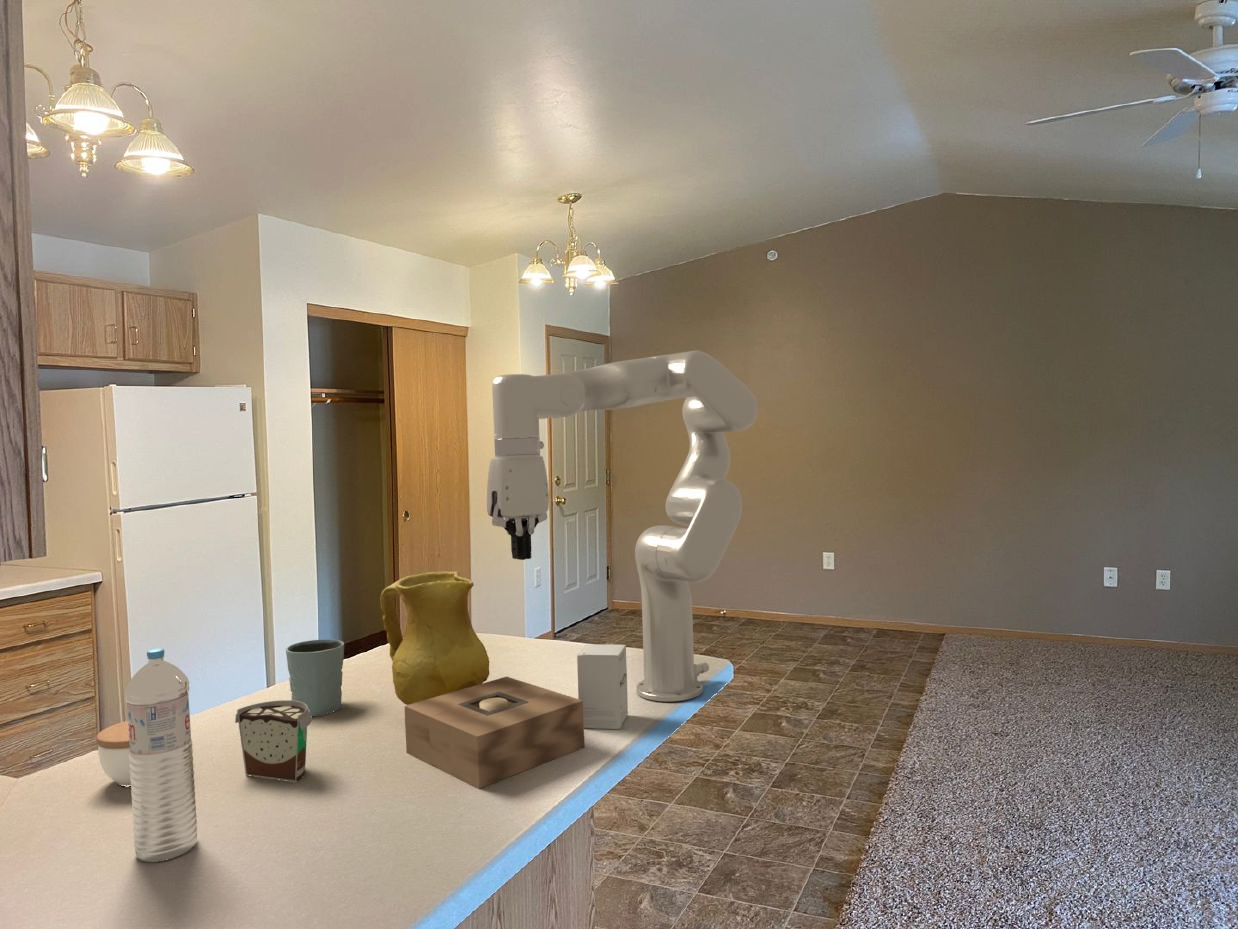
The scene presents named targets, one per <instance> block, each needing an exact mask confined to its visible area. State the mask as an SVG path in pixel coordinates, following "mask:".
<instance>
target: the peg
mask: <svg viewBox="0 0 1238 929" xmlns="http://www.w3.org/2000/svg"><path fill="white" fill-rule="evenodd" d="M479 706H480V708H481V709H484V710H486V711H493V710H496V709H499V708H502V707H505V706H508V702H507V700H506V699H504V698H489V699H485V700H482V701H481V702H480V703H479Z"/></svg>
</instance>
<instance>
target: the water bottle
mask: <svg viewBox="0 0 1238 929" xmlns="http://www.w3.org/2000/svg"><path fill="white" fill-rule="evenodd" d="M146 657H147V658H146V659H147V660H148V663H146V664H144V666H142V667H141V668H139V670H138V671H137V672H136V673H135V674H134V675H133V676H132V678H130V681H129V682H128V684H127V685H126V688H125V690H124V691H125V692H124V694H125V702H126V703H127V704H126V705H127V721H128V725H129V743H130V752H129V759H130V762H129V763H130V774H131V776H130V780H131V787H130V789H131V790H130V791H131V792H130V793H131V794H130V795H131V809H132V825H133V826H132V828H133V830H132V831H133V840H134V841H133V843H134V846H133V847H134V852H135V855H136V857H137V859H139V860H140V861H142V862H145V861H146V862H145V863H157V862H156V861H160V862H163V861H162V860H166V859H170V860H172V858H173V859H175V858H174V857H176V858H178V857H180V855H181V856H182V854H183V855H184V854H186V853H187V852H189V851H190V850H191V848H192V847H193V848H194V846H196V844H197V840H198V826H197V825H198V821H197V804H196V802H197V801H196V791H195V790H196V786H195V769H194V768H195V765H194V755H193V754H194V750H193V745H194V744H193V740H192V733H191V731H192V730H191V729H192V728H191V716H190V700H189V698H190V697H189V691H190V680H189V678H188V676H187V675H186V674H185V672H183V670H181V669H180V668H179V667H177V666H176V665H175V664H173V663H171V662H169V661H165V660H164V658H165V649H164V648H159V647H157V648H153V649H149V650H147V651H146ZM193 848H192V849H193ZM185 852H186V853H185ZM177 856H178V857H177ZM166 861H167V860H166Z"/></svg>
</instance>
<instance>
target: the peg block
mask: <svg viewBox="0 0 1238 929" xmlns="http://www.w3.org/2000/svg"><path fill="white" fill-rule="evenodd" d="M489 698H504V699H506V700H507V702H508V706H505V707H502V708H499V709H496V710H493V711H486V710H484V709H481V708H480V706H479V703H480V702H481V701H482V700H485V699H489ZM404 724H405V725H404V726H405V728H404V730H405V744H406V748H405V749H406V750H405V751H406V754H409V755H410V756H413V757H415V758H417V759H418V760H421V761H423V762H424V763H427V764H428V765H431V766H432V767H435V768H437V769H439V770H440V771H442V772H445V773H447V774H448V775H451V776H453V777H455V778H457V779H458V780H461V781H462V782H465V783H466V784H469V785H471V786H473V787H474V788H477V789H479V790H480V789H482V788H485V787H487V786H490V785H493V784H495V783H498V782H500V781H503V780H505V779H508V778H510V777H513V776H515V775H518V774H520V773H523V772H525V771H528V770H531V769H533V768H535V767H538V766H540V765H543V764H545V763H549V762H551V761H554V760H555V759H559V758H560V757H561V758H562V757H563V756H566V755H568V754H571V753H574V752H576V751H578V749H579V750H581V749H584V748H585V728H584V721H583V700H579V699H578V698H575V697H572V696H570V695H566V694H563V693H561V692H556V691H553V690H550V689H549V688H544V687H541V686H539V685H538V686H537V685H536V684H531V683H529V682H525V681H523V680H519V679H516V678H513V677H510V676H504V677H501V678H500V677H499V678H497V679H493V680H490V681H485V682H483V683H482V684H479V685H475V686H472V687H469V688H465V689H462V690H458V691H455V692H451V693H448V694H444V695H441V696H437V697H434V698H430V699H427V700H424V701H420V702H417V703H413V704H410V705H406V704H405V705H404ZM580 748H581V749H580Z"/></svg>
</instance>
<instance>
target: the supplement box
mask: <svg viewBox="0 0 1238 929" xmlns="http://www.w3.org/2000/svg"><path fill="white" fill-rule="evenodd" d="M576 660H577V661H576V664H577V692H578V693H577V694H578V695H577V696H578V698H577V699H579V700H583V721H584V729H598V730H599V729H600V730H620V729H621V728H622V725H623V724H624V722H625V721H626V718H627V717H628V714H629V710H628V709H629V707H628V706H629V705H628V703H629V702H628V699H629V698H628V670H627V669H628V668H627V645H626V644H608V643H607V644H601V643H600V644H590V643H589V644H586V645H585V646H584V647H583V648H582V649H581V650H580V652H578V653H577V656H576Z"/></svg>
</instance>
